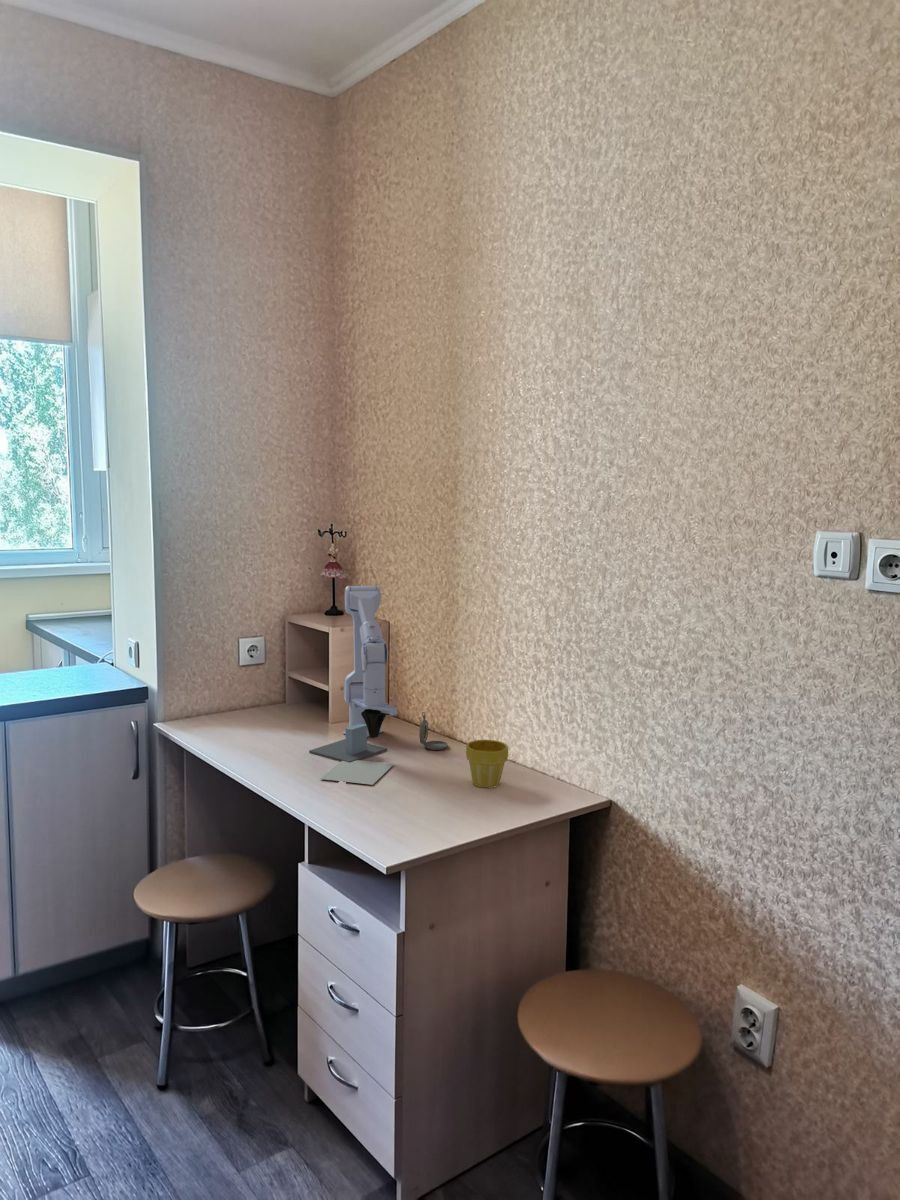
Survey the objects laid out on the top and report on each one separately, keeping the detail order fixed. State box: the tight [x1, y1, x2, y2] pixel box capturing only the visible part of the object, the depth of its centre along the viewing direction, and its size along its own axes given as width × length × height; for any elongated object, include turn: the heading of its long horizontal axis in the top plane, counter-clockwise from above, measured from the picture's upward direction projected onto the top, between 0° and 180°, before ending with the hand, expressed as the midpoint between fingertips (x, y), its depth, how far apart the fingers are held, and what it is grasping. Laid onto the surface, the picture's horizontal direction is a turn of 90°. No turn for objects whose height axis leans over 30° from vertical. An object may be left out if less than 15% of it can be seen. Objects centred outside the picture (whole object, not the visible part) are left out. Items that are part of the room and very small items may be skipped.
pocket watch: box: [419, 711, 449, 751], centre depth 242 cm, size 8×8×10 cm
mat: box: [308, 738, 388, 762], centre depth 237 cm, size 15×15×1 cm
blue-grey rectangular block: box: [345, 724, 368, 755], centre depth 235 cm, size 6×2×7 cm, turn 143°
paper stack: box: [319, 759, 395, 786], centre depth 215 cm, size 23×25×1 cm
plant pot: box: [465, 739, 509, 788], centre depth 213 cm, size 10×10×10 cm
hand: (374, 737), depth 231 cm, fingers closed
